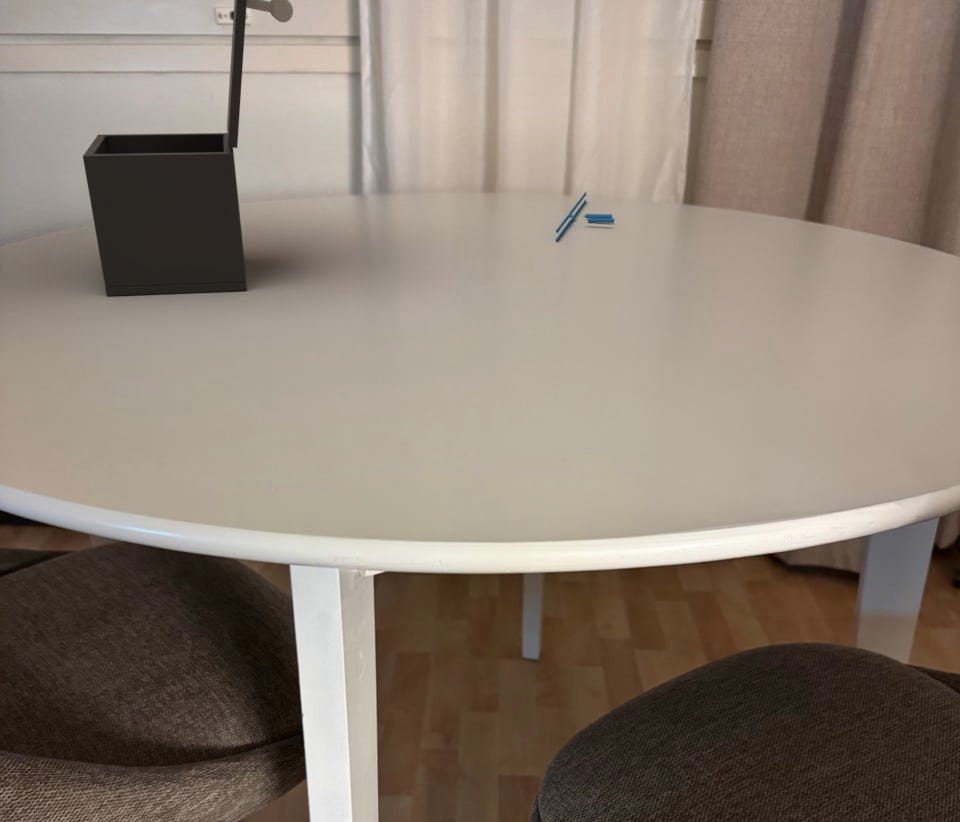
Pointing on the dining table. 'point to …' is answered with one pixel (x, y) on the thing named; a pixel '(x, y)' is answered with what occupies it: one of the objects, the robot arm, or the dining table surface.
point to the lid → (280, 12)
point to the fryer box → (166, 213)
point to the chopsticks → (591, 217)
